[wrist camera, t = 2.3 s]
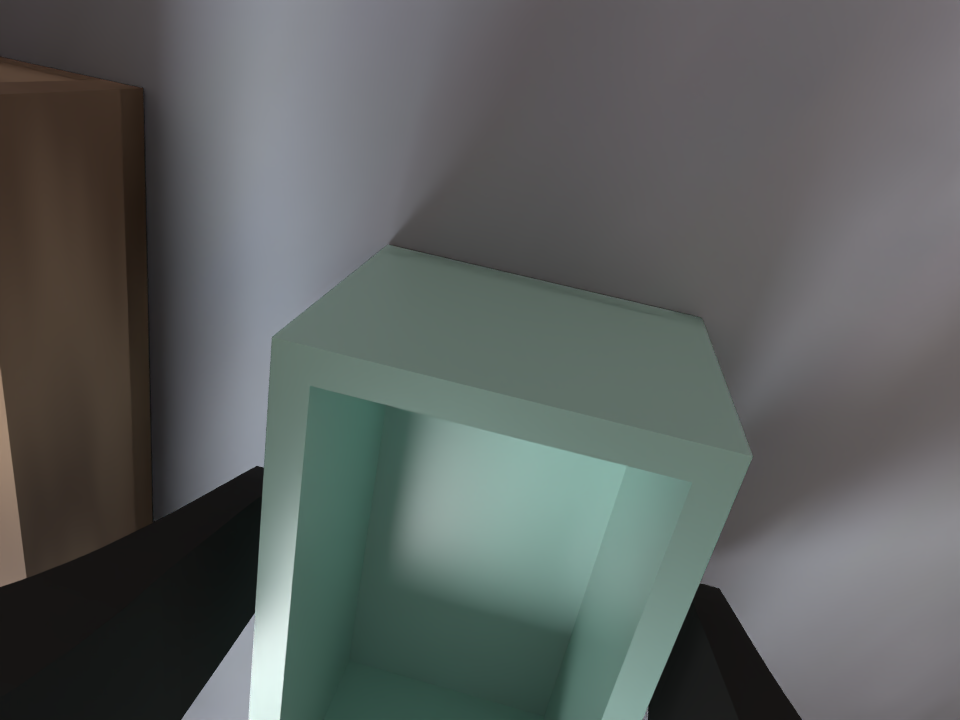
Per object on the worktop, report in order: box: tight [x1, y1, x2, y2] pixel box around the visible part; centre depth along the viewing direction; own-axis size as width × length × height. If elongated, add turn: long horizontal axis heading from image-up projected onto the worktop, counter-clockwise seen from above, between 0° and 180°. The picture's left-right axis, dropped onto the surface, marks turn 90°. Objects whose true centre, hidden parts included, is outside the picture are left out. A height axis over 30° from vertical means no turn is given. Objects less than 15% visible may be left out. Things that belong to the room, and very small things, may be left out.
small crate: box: [249, 245, 753, 720], centre depth 12 cm, size 10×6×4 cm, turn 170°
